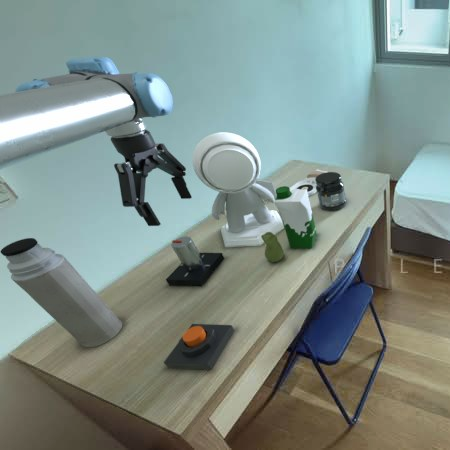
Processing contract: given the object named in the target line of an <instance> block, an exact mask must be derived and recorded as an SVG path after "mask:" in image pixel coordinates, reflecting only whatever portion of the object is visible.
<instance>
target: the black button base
mask: <svg viewBox="0 0 450 450" xmlns="http://www.w3.org/2000/svg"><path fill="white" fill-rule="evenodd" d="M194 326H201V327H202V328H203V330H204V331H205V333H206V338H205V340H204V341H203V342H202V343H200V344H199V345H197V346H194V347H189V346H187V344H186V343H185V342H184V340H183V335H182V336H181V338H180V339H179V340H178V342H177V343H176V345H175V346H174V348H173V349H172V350H171V352H170V353H169V355H168V356H167V357H166V358H165V360H164V361H163V364H164V365H165V366H166V367H167V368H168V369H179V370H182V369H183V370H204V371H212V370H213V368H214V366H215V364H216V363H217V361H218V360H219V358H220V356H221V354H222V353H223V351H224V350H225V348H226V346H227V344H228V343H229V341H230V340H231V337H232V335H233V334H234V333H235V328H234V327H233V326H232V324H209V323H191V325H190V326H189V327H188V329H190V328H192V327H194Z"/></svg>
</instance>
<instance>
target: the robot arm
mask: <svg viewBox="0 0 450 450" xmlns="http://www.w3.org/2000/svg"><path fill="white" fill-rule="evenodd" d="M66 67H67V69H68V73H67V74H61V75H55V76H50V77H45V78H40V79H39V78H33V79H32V80H29V81H27V82H23V83H21V84H19V85H17V87H16V88H15V91H14V92H8V93H3V94H0V170H4V169H6V168H9V167H11V166H14V165H16V164H19V163H22V162H25V161H27V160H30V159H33V158H35V157H38V156H42V155H44V154H46V153H49V152H52V151H55V150H58V149H60V148H63V147H66V146H68V145H71V144H74V143H77V142H79V141H82V140H85V139H87V138H90V137H93V136H95V135H98V134H101V133H104V132H105V134H106V135H107V136H108V137H110V142H111V143H112V145H113V147H114V148H115V150H116V152H117V153H118V154H120V155H121V156H123V158H124V162H120V163H119V162H117V163H113V167H114V169H115V171H116V174H117V178H118V183H119V191H120V196H121V203H122V206H123V207H124V208H132V207H133V208H134V209H135V211H136V212H137V214H138V215H139V216H140V217H141V218H143V219H144V221H145V223H146V224H147V226H148V227H160V226H161V225H162V223H161V222H160V220H159V218H158V217H157V215H156V213H155V211H154V210H153V208H152V207H151V205H150V203H149V201H145V197H146V181H147V180H146V179H147V178H148V177H149V173H152V171H153V170H155V169H159V170H160V171H162V172H164V173H166V174H167V175H170V176H172V177H170V180H171V181H172V184H173V185H174V187H175V189H176V191H177V193H178V195H179V197H180V199H181V200H190V199H192V195H191V192H190V190H189V187H188V186H187V182H186V179H185V178H184V177H185V176H186V175H187V174H186V171H187V167H186V166H184V164H182V162H180V161H179V160H178V159H177V158H176V157H175V156H174V155H173V154H172V153H171V152H170V151H169V150H168V148H167V146H166V145H165V143H161V142H160V143H156V141H155V140H154V137H153V135H152V133H151V132H150V130H148V129H147V128H148V127H147V125H146V122H145V120H144V118H157V117H164V116H167V115H170V113H171V112H172V110H173V108H174V99H173V94H172V93H171V90H170V87H169V86H168V83H166V82H165V80H163V79H162V78H161V77H160V76H159V75H157V74H155V73H150V72H132V73H121V72H119V69H118V68H117V66H116V64H115V63H114V61H113V60H112V59H111V58H109V57H106V56H87V57H79V58H71V59H67V60H66Z"/></svg>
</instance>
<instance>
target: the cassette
mask: <svg viewBox="0 0 450 450" xmlns="http://www.w3.org/2000/svg"><path fill="white" fill-rule="evenodd" d="M255 183H256V184H259V185H261V186H263V187H264V188H266V189H267V190H269V191H270V192H271V193H272V194H273V196H274V199H275V200H276V197H277V194H276V189H277V188H276V186H275V183H274V181H268V180H265V179H259V178H258V179H257V180H256V182H255ZM256 194H257V193H256ZM257 195H258V194H257ZM258 196H259V197H260V198H262V197H261V196H260V195H258Z"/></svg>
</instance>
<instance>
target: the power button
mask: <svg viewBox="0 0 450 450" xmlns="http://www.w3.org/2000/svg"><path fill="white" fill-rule="evenodd" d="M182 336H183V340H184V342H185V343H186V344H187V346H189V347H194V346H197V345H199V344H200V343H202V342H203V341H204V340H205V338H206V333H205V331H204V330H203V328H202V327H201V326H194V327H192V328H190V329H189V328H188V329H187V330H186V331H185V332H184V333H183V335H182Z"/></svg>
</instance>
